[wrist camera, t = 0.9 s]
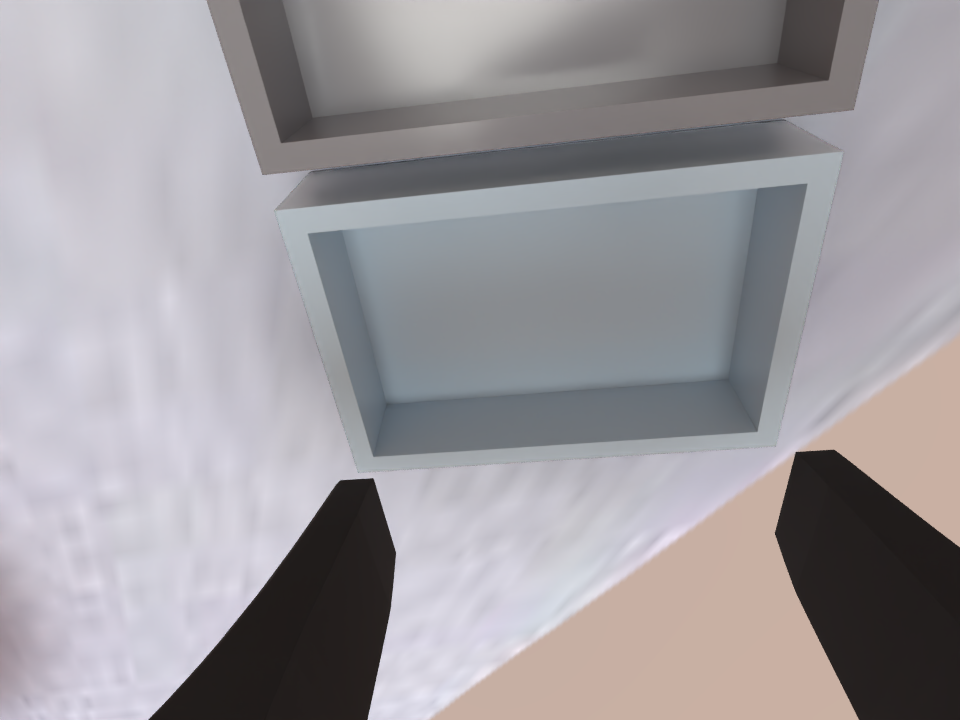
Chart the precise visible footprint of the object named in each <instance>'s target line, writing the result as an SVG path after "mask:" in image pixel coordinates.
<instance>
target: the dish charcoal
mask: <svg viewBox="0 0 960 720" xmlns="http://www.w3.org/2000/svg"><path fill="white" fill-rule="evenodd" d="M878 2H879V0H207V3H208V6H209V9H210V13H211V16H212V19H213V22H214V25H215V28H216V31H217V34H218V38H219V41H220V44H221V47H222V50H223V53H224V56H225V59H226V62H227V66H228V69H229V72H230V75H231V78H232V81H233V84H234V87H235V91H236V94H237V97H238V100H239V103H240V106H241V109H242V112H243V115H244V119H245V122H246V125H247V128H248V131H249V134H250V137H251V140H252V144H253V147H254V150H255V153H256V156H257V159H258V162H259V165H260V168H261V172H262V175H267V174H276V173H286V172H295V171H304V170H313V169H322V168H331V167H340V166H349V165H358V164H367V163H376V162H385V161H395V160H404V159H413V158H422V157H431V156H440V155H449V154H458V153H467V152H476V151H485V150H494V149H504V148H513V147H522V146H531V145H540V144H549V143H558V142H567V141H576V140H585V139H594V138H604V137H613V136H622V135H631V134H640V133H649V132H658V131H667V130H676V129H685V128H694V127H703V126H713V125H722V124H731V123H740V122H749V121H758V120H767V119H776V118H785V117H794V116H803V115H813V114H822V113H831V112H840V111H849V110H854V106H855V102H856V97H857V93H858V89H859V84H860V80H861V76H862V71H863V67H864V63H865V58H866V54H867V50H868V45H869V41H870V37H871V32H872V28H873V24H874V19H875V15H876V10H877V6H878Z"/></svg>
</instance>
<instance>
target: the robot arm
mask: <svg viewBox="0 0 960 720" xmlns="http://www.w3.org/2000/svg"><path fill="white" fill-rule="evenodd" d="M775 535H776V538H777V541H778V544H779V547H780V550H781V552H782V556H783V559H784V562H785V564H786V567H787V570H788V572H789V575H790V578H791V580H792V584H793V586H794V589H795V591H796V594H797V596H798V598H799V600H800V602H801V604H802V606H803V608H804V610H805V612H806V614H807V616H808V618H809V620H810V622H811V625H812V626H813V629H814V630H815V633H816V635H817V636H818V639H819V641H820V643H821V645H822V647H823V649H824V651H825V653H826V655H827V657H828V659H829V660H830V663H831V665H832V667H833V669H834V671H835V673H836V675H837V677H838V678H839V680H840V683H841V684H842V686H843V689H844V690H845V693H846V694H847V696H848V698H849V700H850V702H851V704H852V706H853V708H854V710H855V712H856V714H857V716H858V718H859V720H960V547H959V546H957V545H956V544H955V543H953V542H952V541H951V540H949V539H948V538H946V537H945V536H944V535H943V534H941V533H940V532H939V531H937V530H936V529H935V528H934V527H932V526H931V525H930V524H928V523H927V522H926V521H924V520H923V519H922V518H921V517H919V516H918V515H917V514H916V513H914V512H913V511H912V510H910V509H909V508H908V507H907V506H905V505H904V504H903V503H901V502H900V501H899V500H898V499H896V498H895V497H894V496H893V495H891V494H890V493H889V492H888V491H886V490H885V489H884V488H882V487H881V486H880V485H879V484H878V483H876V482H875V481H874V480H872V479H871V478H870V477H868V476H867V475H866V474H865V473H864V472H862V471H861V470H860V469H858V468H857V467H856V466H855V465H853V464H852V463H851V462H850V461H848V460H847V459H846V458H845V457H843V456H842V455H841V454H839V453H838V452H837V451H835V450H823V451H806V452H796V454H795V458H794V462H793V465H792V469H791V473H790V477H789V481H788V485H787V489H786V493H785V496H784V500H783V504H782V508H781V512H780V516H779V520H778V524H777V527H776V531H775ZM395 558H396V551H395V548H394V545H393V541H392V538H391V535H390V531H389V528H388V525H387V521H386V518H385V515H384V512H383V508H382V505H381V502H380V498H379V495H378V492H377V488H376V485H375V482H374V478H371V479H355V480H340V481H339V482H338V483H337V484H336V486H335V487H334V489H333V490H332V491H331V493H330V494H329V496H328V497H327V499H326V500H325V502H324V503H323V505H322V506H321V507H320V509H319V510H318V512H317V513H316V515H315V516H314V518H313V519H312V521H311V522H310V523H309V525H308V526H307V528H306V529H305V531H304V532H303V533H302V535H301V536H300V538H299V539H298V541H297V542H296V543H295V545H294V546H293V548H292V549H291V550H290V552H289V553H288V554H287V556H286V557H285V559H284V560H283V561H282V563H281V564H280V565H279V567H278V568H277V569H276V571H275V572H274V573H273V575H272V576H271V577H270V579H269V580H268V581H267V583H266V584H265V586H264V587H263V588H262V589H261V591H260V592H259V593H258V595H257V596H256V597H255V598H254V600H253V601H252V602H251V603H250V605H249V606H248V607H247V608H246V610H245V611H244V612H243V613H242V615H241V616H240V617H239V618H238V620H237V621H236V622H235V623H234V624H233V626H232V627H231V628H230V629H229V631H228V632H227V633H226V634H225V636H224V637H223V638H222V639H221V640H220V642H219V643H218V644H217V645H216V646H215V648H214V649H213V650H212V651H211V652H210V653H209V654H208V656H207V657H206V658H205V659H204V660H203V661H202V663H201V664H200V665H199V666H198V667H197V668H196V669H195V670H194V672H193V673H192V674H191V675H190V676H189V677H188V678H187V679H186V680H185V681H184V683H183V684H182V685H181V686H180V687H179V688H178V689H177V690H176V691H175V692H174V693H173V695H172V696H171V697H170V698H169V699H168V700H167V701H166V702H165V703H164V704H163V705H162V706H161V707H160V708H159V709H158V710H157V711H156V712H155V713H154V714H153V716H152V717H151V718H150V719H149V720H367V719H368V715H369V710H370V705H371V700H372V696H373V691H374V686H375V682H376V677H377V672H378V668H379V663H380V658H381V653H382V649H383V644H384V639H385V634H386V629H387V624H388V619H389V614H390V609H391V600H392V591H393V581H394V569H395Z"/></svg>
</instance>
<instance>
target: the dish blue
mask: <svg viewBox="0 0 960 720" xmlns="http://www.w3.org/2000/svg"><path fill="white" fill-rule="evenodd" d="M843 154H844V151H843V150H841V149H839V148H837V147H835V146H833V145H831V144H829V143H827V142H826V141H824V140H822V139H820V138H818V137H816V136H814V135H812V134H810V133H809V132H807V131H805V130H803V129H801V128H799V127H797V126H795V125H793V124H792V123H790V122H788V121H786V120H778V121H769V122H760V123H751V124H742V125H733V126H723V127H714V128H705V129H696V130H687V131H678V132H669V133H660V134H651V135H641V136H632V137H623V138H614V139H605V140H596V141H587V142H578V143H569V144H559V145H550V146H541V147H532V148H523V149H514V150H505V151H496V152H487V153H477V154H468V155H459V156H450V157H441V158H432V159H423V160H414V161H405V162H395V163H386V164H377V165H368V166H359V167H350V168H341V169H332V170H323V171H313V172H310V173H309V174H308V175H307V176H306V177H305V178H304V179H303V180H302V181H301V182H300V183H299V184H298V186H297V187H296V188H295V189H294V190H293V191H292V192H291V193H290V194H289V195H288V196H287V197H286V198H285V200H284V201H283V202H282V203H281V204H280V205H279V206H278V207H277V208H276V209H275V210H274V212H275V215H276V218H277V222H278V225H279V228H280V231H281V234H282V237H283V240H284V243H285V246H286V250H287V253H288V256H289V259H290V262H291V265H292V268H293V271H294V275H295V278H296V281H297V284H298V287H299V290H300V293H301V296H302V299H303V303H304V306H305V309H306V312H307V315H308V318H309V321H310V324H311V328H312V331H313V334H314V337H315V340H316V343H317V346H318V349H319V352H320V356H321V359H322V362H323V365H324V368H325V371H326V374H327V377H328V381H329V384H330V387H331V390H332V393H333V396H334V399H335V402H336V406H337V409H338V412H339V415H340V418H341V421H342V424H343V427H344V430H345V434H346V437H347V440H348V443H349V446H350V449H351V452H352V455H353V459H354V462H355V465H356V468H357V471H358V473H364V472H380V471H396V470H412V469H428V468H443V467H459V466H475V465H491V464H507V463H523V462H538V461H554V460H570V459H586V458H602V457H618V456H633V455H649V454H665V453H681V452H697V451H713V450H729V449H744V448H760V447H776V445H777V440H778V436H779V432H780V427H781V423H782V419H783V414H784V410H785V406H786V401H787V397H788V393H789V388H790V384H791V380H792V375H793V371H794V367H795V362H796V358H797V353H798V349H799V345H800V340H801V336H802V332H803V327H804V323H805V319H806V314H807V310H808V306H809V301H810V297H811V293H812V288H813V284H814V280H815V275H816V271H817V267H818V262H819V258H820V254H821V249H822V245H823V241H824V236H825V232H826V228H827V223H828V219H829V215H830V210H831V206H832V202H833V197H834V193H835V188H836V184H837V180H838V175H839V171H840V167H841V162H842V158H843Z"/></svg>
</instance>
